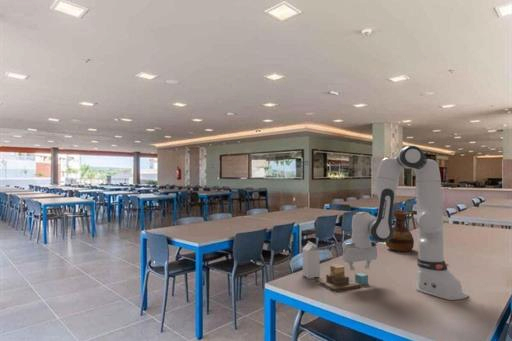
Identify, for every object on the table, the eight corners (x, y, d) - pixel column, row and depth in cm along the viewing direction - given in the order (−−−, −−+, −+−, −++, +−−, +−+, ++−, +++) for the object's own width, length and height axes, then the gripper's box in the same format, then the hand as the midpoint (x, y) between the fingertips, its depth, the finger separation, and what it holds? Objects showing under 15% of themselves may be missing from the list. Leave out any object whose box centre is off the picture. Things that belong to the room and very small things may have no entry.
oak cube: (344, 276, 161) (344, 266, 161) (336, 277, 159) (336, 267, 159) (338, 273, 166) (338, 264, 166) (330, 274, 164) (330, 265, 164)
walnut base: (360, 287, 158) (360, 278, 158) (334, 291, 152) (334, 282, 152) (340, 278, 173) (340, 269, 173) (315, 281, 167) (315, 273, 167)
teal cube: (368, 284, 163) (367, 275, 163) (361, 285, 161) (361, 276, 162) (362, 281, 167) (361, 272, 167) (355, 282, 166) (355, 273, 166)
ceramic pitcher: (387, 251, 234) (386, 211, 235) (384, 246, 254) (383, 209, 255) (416, 253, 229) (415, 212, 230) (411, 247, 248) (410, 209, 249)
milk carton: (308, 278, 172) (307, 243, 172) (302, 275, 178) (302, 241, 179) (319, 277, 174) (319, 243, 174) (314, 274, 180) (313, 240, 181)
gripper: (347, 245, 158) (347, 273, 158) (379, 242, 166) (379, 269, 166) (340, 242, 164) (339, 269, 164) (371, 240, 172) (370, 265, 172)
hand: (359, 269), depth 165 cm, fingers open, 8 cm apart
